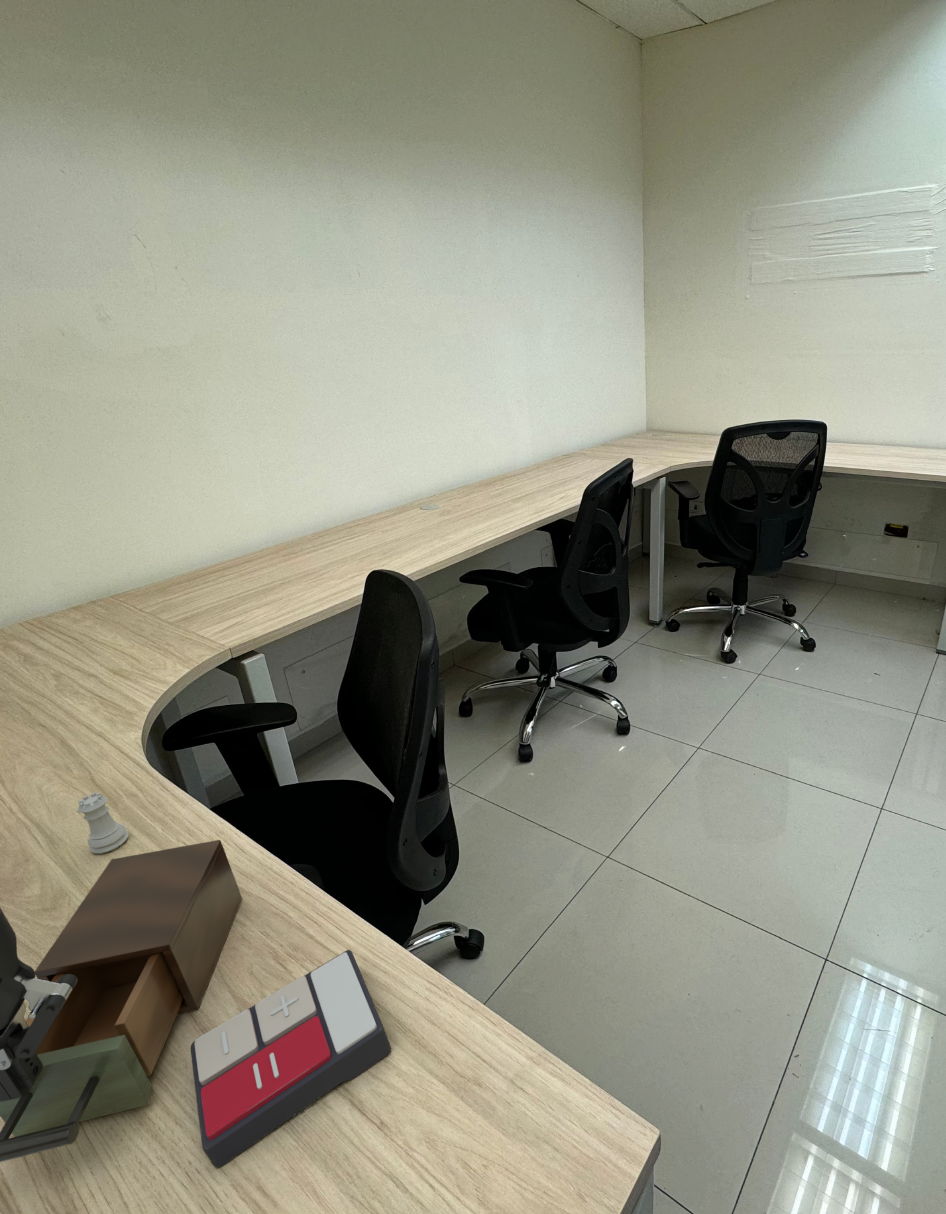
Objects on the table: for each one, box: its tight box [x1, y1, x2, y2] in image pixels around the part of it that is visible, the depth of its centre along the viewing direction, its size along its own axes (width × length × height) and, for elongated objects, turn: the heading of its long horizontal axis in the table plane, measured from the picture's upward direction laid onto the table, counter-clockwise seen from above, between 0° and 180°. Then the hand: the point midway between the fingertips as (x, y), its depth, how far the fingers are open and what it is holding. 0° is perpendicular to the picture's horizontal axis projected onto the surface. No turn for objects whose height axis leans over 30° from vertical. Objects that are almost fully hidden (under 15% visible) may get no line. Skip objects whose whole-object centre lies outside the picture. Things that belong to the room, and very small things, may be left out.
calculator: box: [190, 949, 392, 1169], centre depth 59 cm, size 11×4×15 cm
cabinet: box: [34, 839, 243, 1016], centre depth 68 cm, size 15×12×10 cm
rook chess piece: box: [77, 792, 130, 855], centre depth 86 cm, size 4×4×8 cm
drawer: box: [0, 952, 184, 1163], centre depth 57 cm, size 18×10×8 cm, turn 13°
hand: (21, 1086), depth 49 cm, fingers closed
